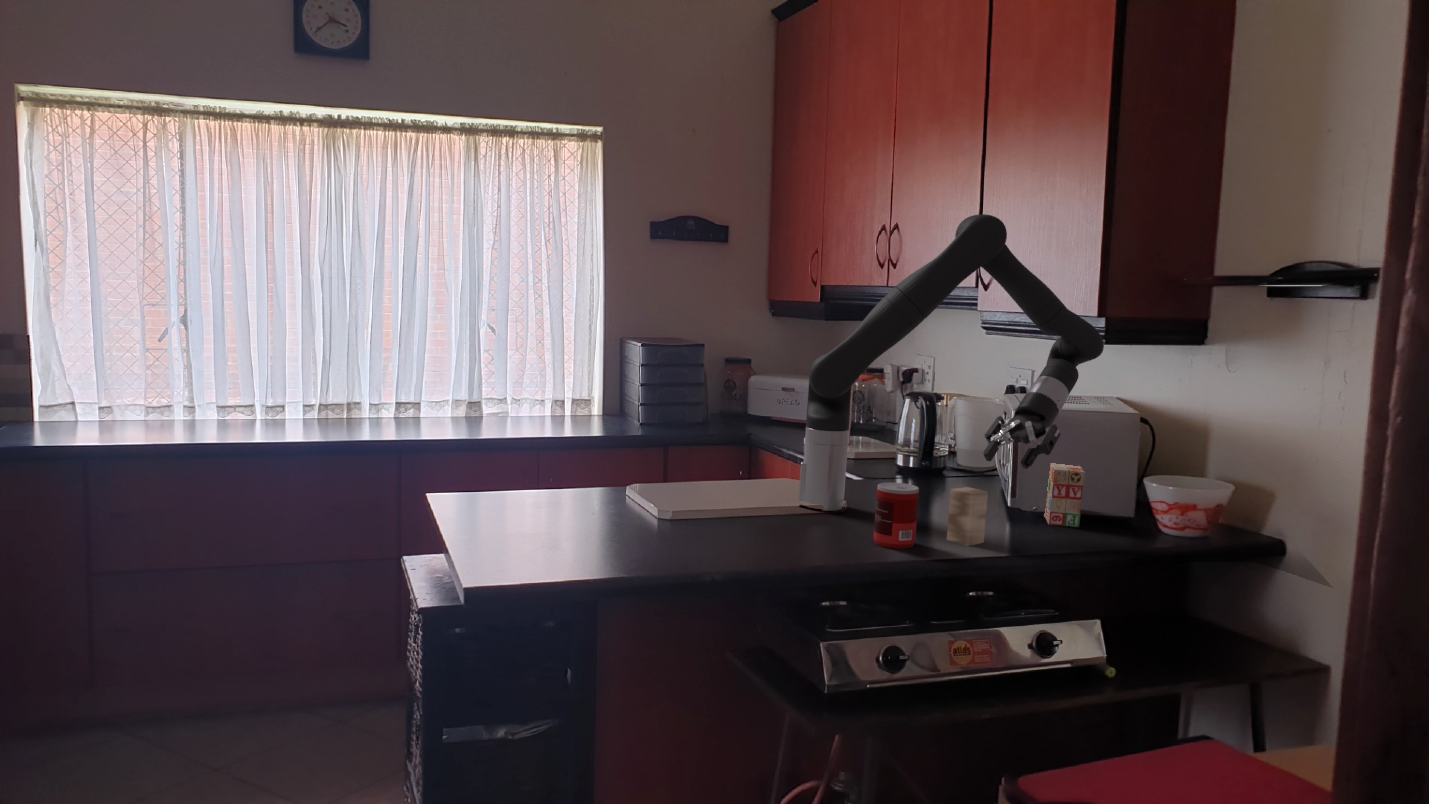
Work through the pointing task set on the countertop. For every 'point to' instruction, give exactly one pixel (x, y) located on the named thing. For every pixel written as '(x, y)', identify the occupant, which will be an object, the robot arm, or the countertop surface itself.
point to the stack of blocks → (1064, 495)
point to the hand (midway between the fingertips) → (1004, 462)
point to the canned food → (896, 515)
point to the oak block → (967, 515)
